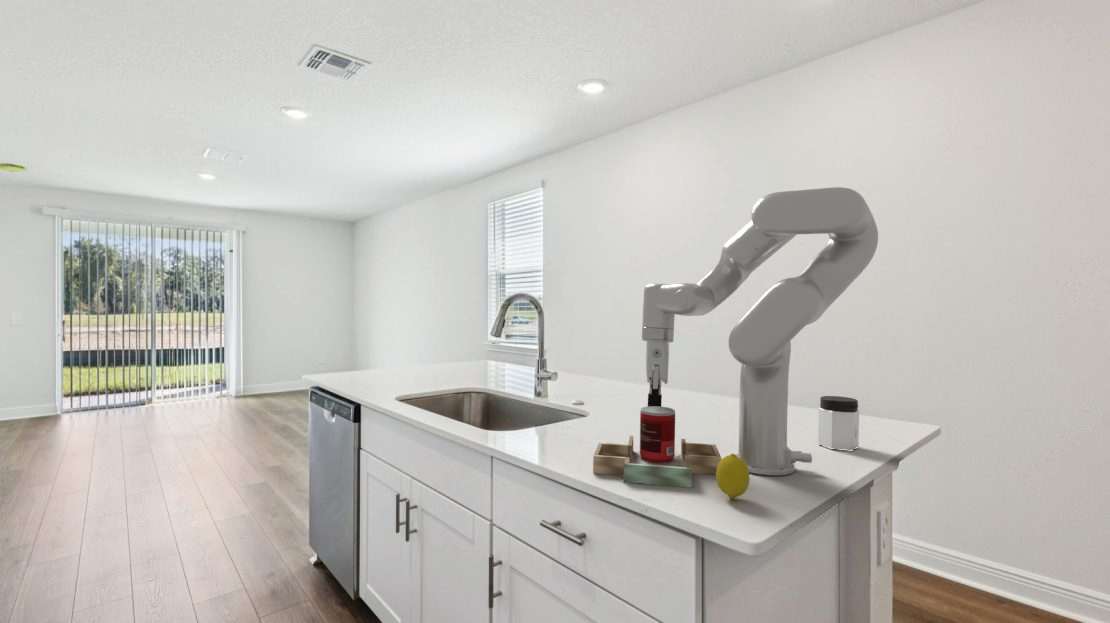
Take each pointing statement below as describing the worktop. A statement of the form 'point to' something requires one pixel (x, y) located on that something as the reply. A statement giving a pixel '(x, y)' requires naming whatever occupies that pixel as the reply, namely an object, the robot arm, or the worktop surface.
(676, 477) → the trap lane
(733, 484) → the lemon
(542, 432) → the worktop surface
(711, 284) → the robot arm
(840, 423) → the jar
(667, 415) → the canned food
